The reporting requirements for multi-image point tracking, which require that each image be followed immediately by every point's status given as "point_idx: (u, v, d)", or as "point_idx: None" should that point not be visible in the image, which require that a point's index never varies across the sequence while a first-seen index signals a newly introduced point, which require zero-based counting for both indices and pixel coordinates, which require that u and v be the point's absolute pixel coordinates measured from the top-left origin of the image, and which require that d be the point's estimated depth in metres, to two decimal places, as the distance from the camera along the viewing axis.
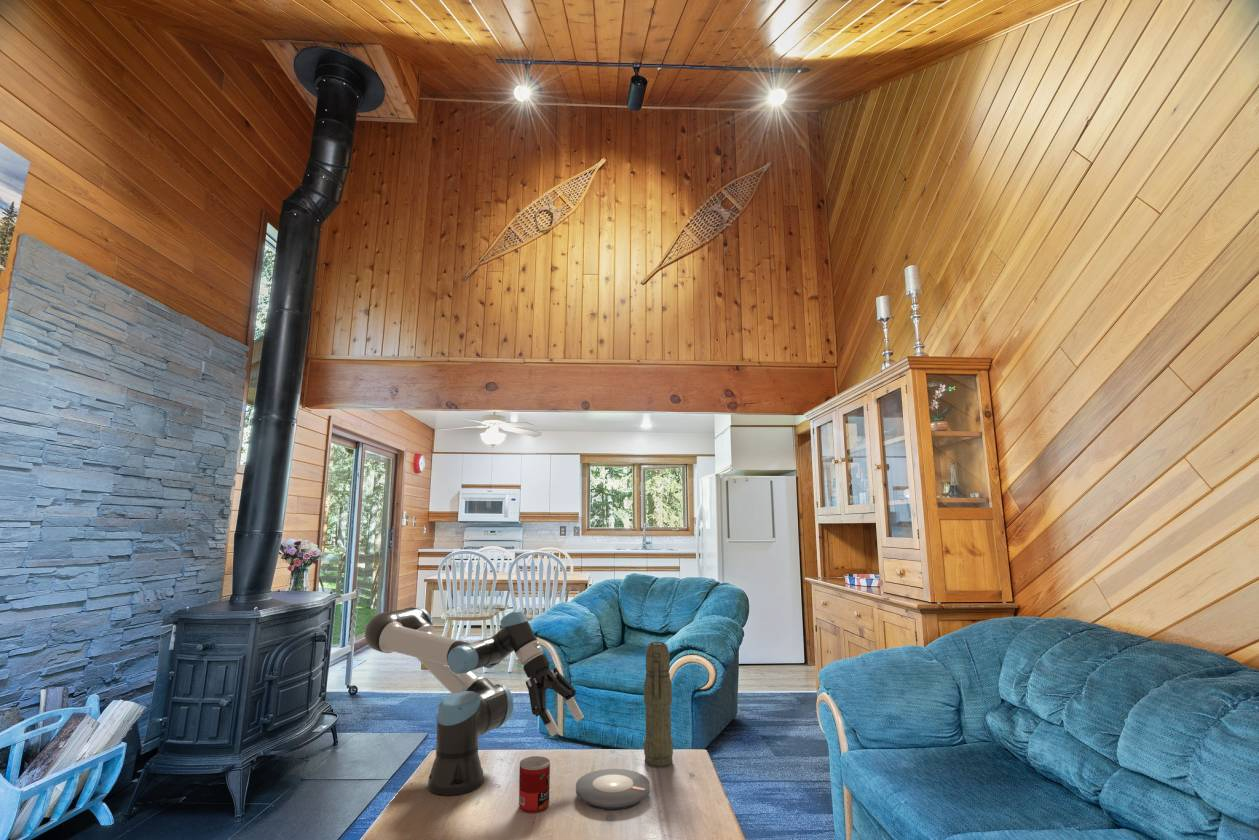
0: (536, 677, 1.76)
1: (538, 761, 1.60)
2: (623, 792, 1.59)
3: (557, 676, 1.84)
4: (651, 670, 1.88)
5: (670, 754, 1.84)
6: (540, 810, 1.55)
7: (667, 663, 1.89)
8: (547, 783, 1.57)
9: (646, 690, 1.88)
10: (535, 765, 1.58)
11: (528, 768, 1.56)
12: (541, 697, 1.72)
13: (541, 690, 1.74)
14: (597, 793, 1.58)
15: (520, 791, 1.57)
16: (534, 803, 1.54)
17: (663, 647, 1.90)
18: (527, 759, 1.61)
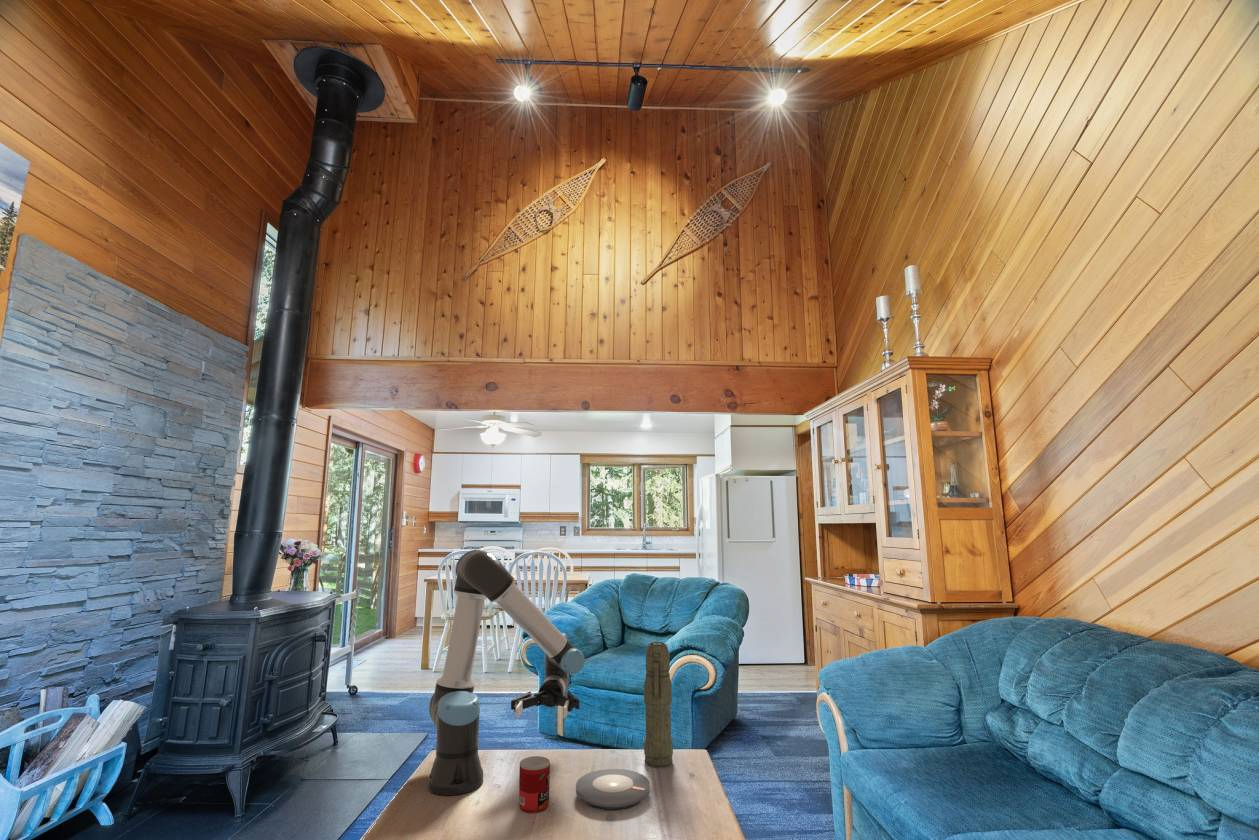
0: None
1: (538, 761, 1.60)
2: (623, 792, 1.59)
3: None
4: (651, 670, 1.88)
5: (670, 754, 1.84)
6: (540, 810, 1.55)
7: (667, 663, 1.89)
8: (547, 783, 1.57)
9: (646, 690, 1.88)
10: (535, 765, 1.58)
11: (528, 768, 1.56)
12: None
13: None
14: (597, 793, 1.58)
15: (520, 791, 1.57)
16: (534, 803, 1.54)
17: (663, 647, 1.90)
18: (527, 759, 1.61)
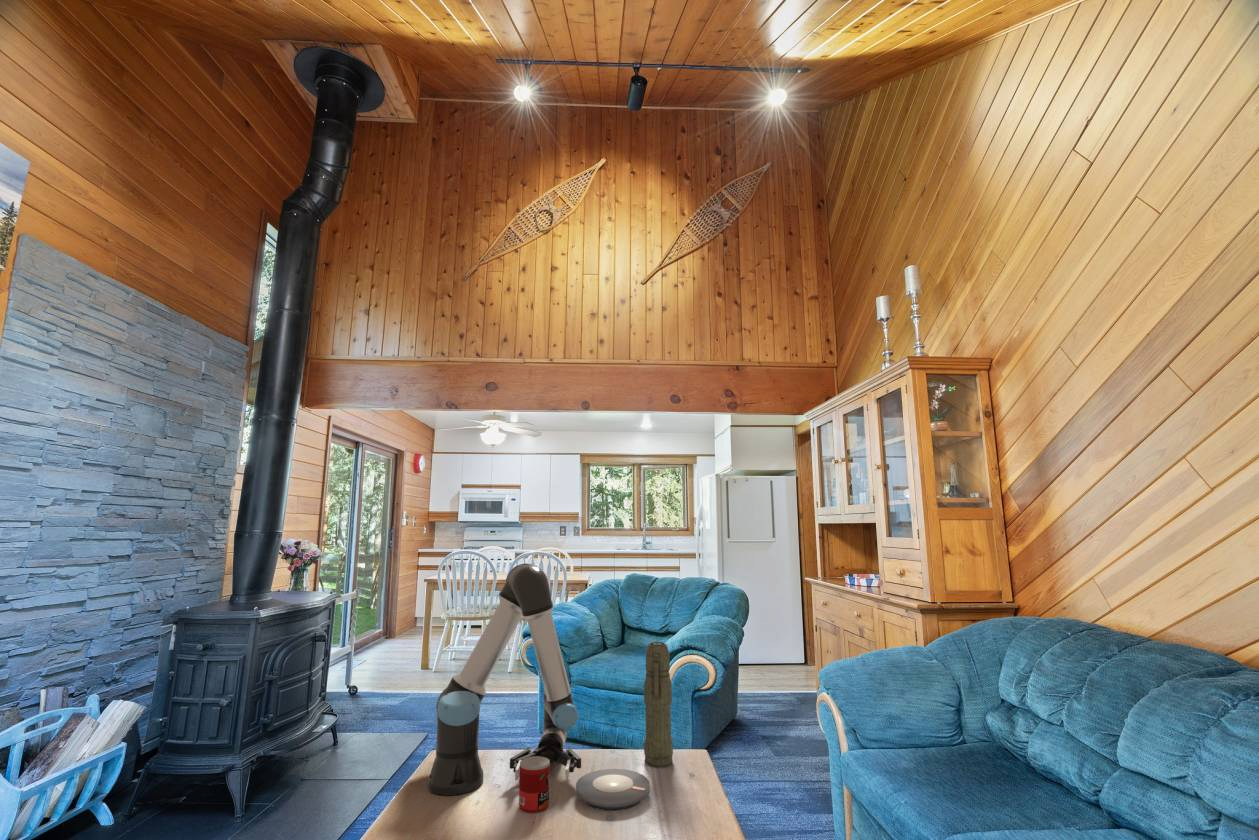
0: None
1: (538, 761, 1.60)
2: (623, 792, 1.59)
3: None
4: (651, 670, 1.88)
5: (670, 754, 1.84)
6: (540, 810, 1.55)
7: (667, 663, 1.89)
8: (547, 783, 1.57)
9: (646, 690, 1.88)
10: (535, 765, 1.58)
11: (528, 768, 1.56)
12: None
13: None
14: (597, 793, 1.58)
15: (520, 791, 1.57)
16: (534, 803, 1.54)
17: (663, 647, 1.90)
18: (527, 759, 1.61)
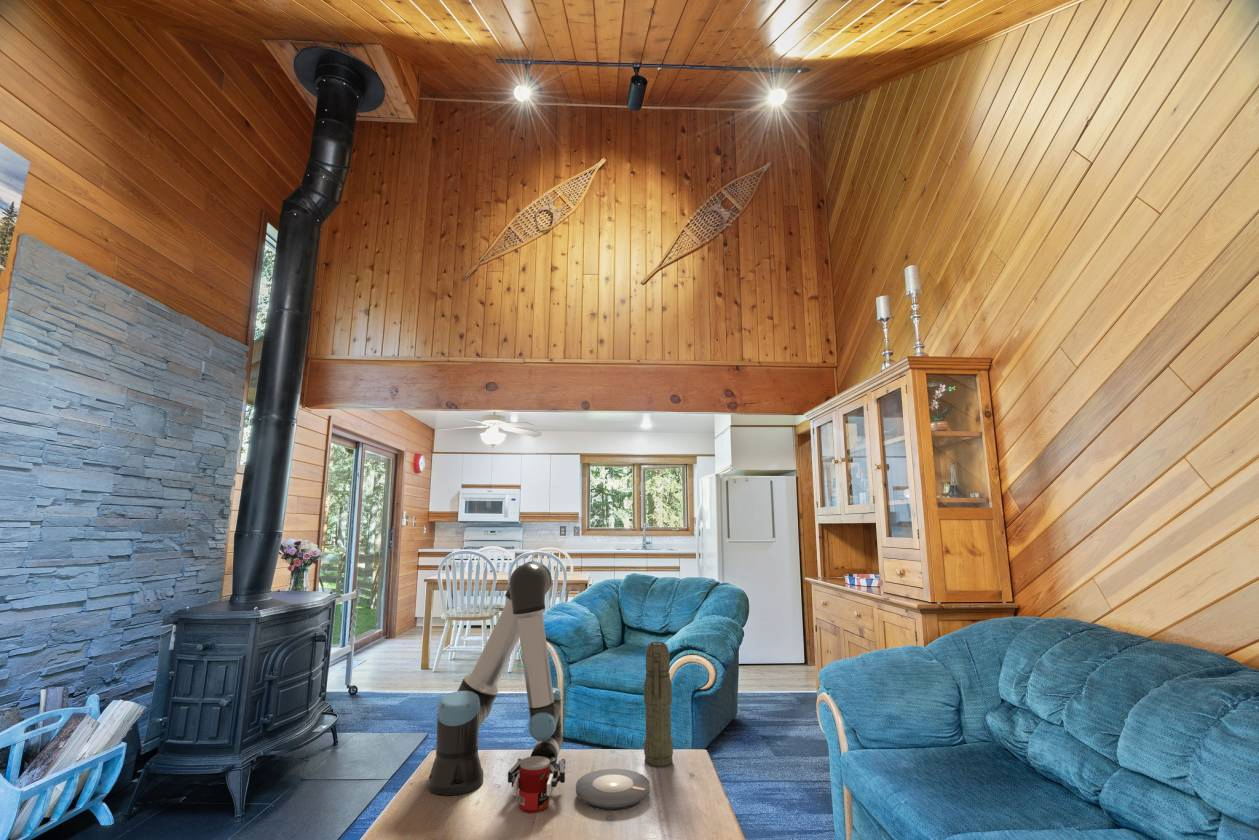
0: None
1: (538, 761, 1.60)
2: (623, 792, 1.59)
3: None
4: (651, 670, 1.88)
5: (670, 754, 1.84)
6: (540, 810, 1.55)
7: (667, 663, 1.89)
8: None
9: (646, 690, 1.88)
10: (535, 765, 1.58)
11: (528, 768, 1.56)
12: None
13: None
14: (597, 793, 1.58)
15: (520, 791, 1.57)
16: (534, 803, 1.54)
17: (663, 647, 1.90)
18: (527, 759, 1.61)
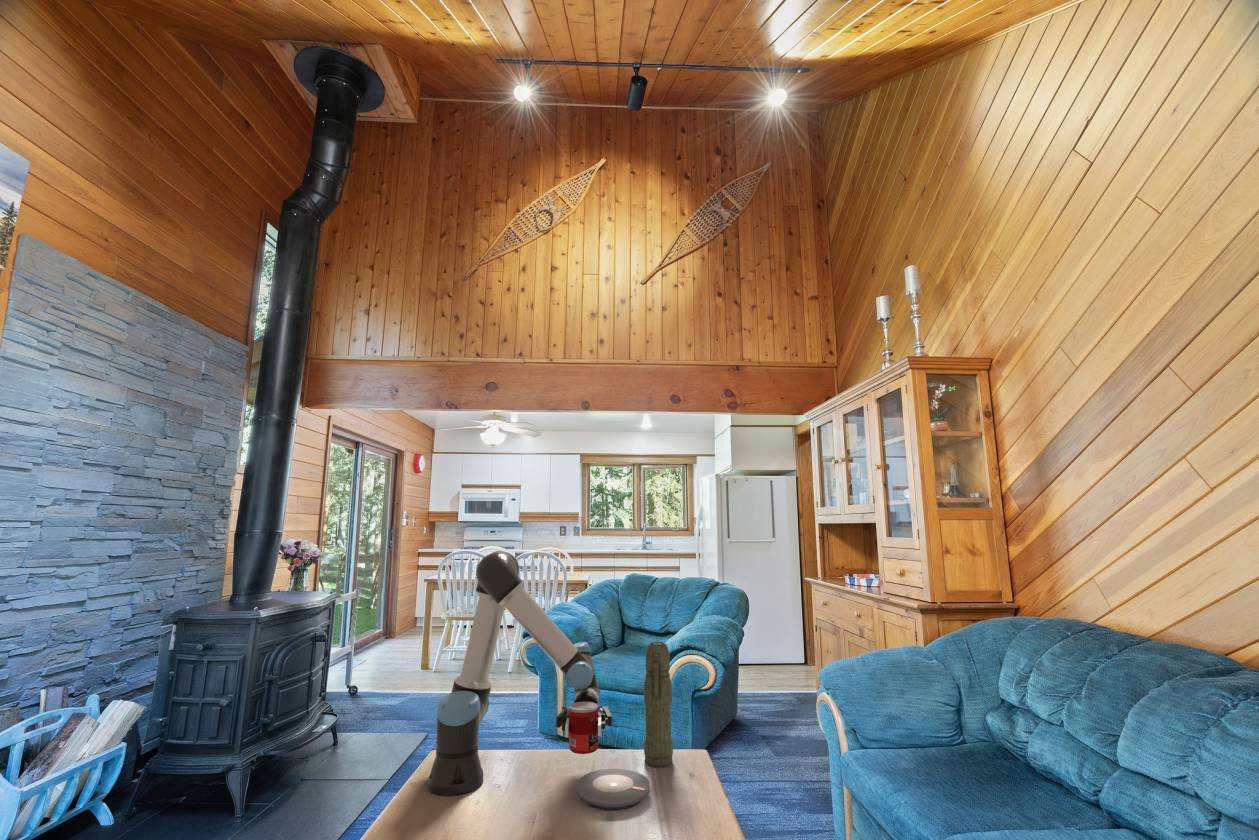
0: None
1: (586, 705, 1.65)
2: (623, 792, 1.59)
3: (566, 716, 1.73)
4: (651, 670, 1.88)
5: (670, 754, 1.84)
6: (591, 751, 1.59)
7: (667, 663, 1.89)
8: (597, 725, 1.62)
9: (646, 690, 1.88)
10: (584, 708, 1.62)
11: (578, 711, 1.60)
12: None
13: None
14: (597, 793, 1.58)
15: (571, 734, 1.61)
16: (586, 744, 1.59)
17: (663, 647, 1.90)
18: (575, 704, 1.66)
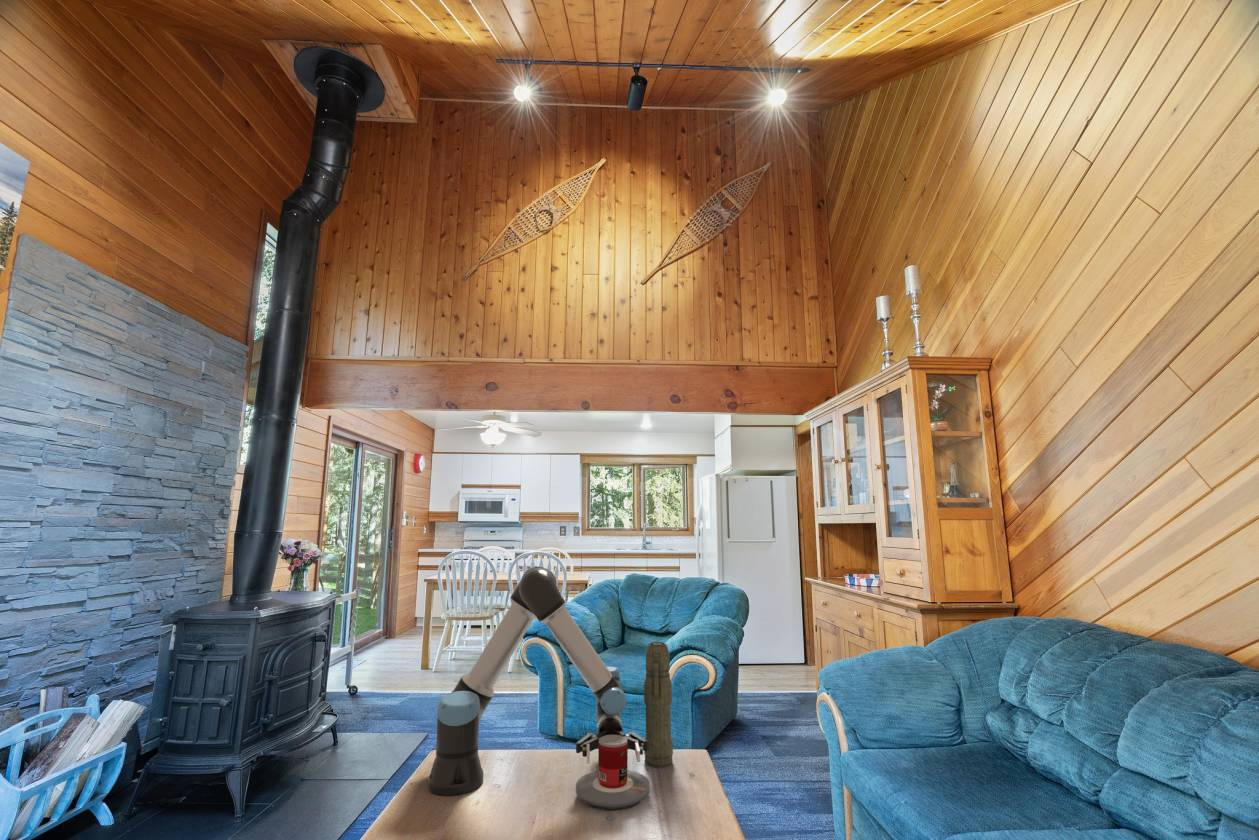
0: None
1: (615, 739, 1.67)
2: (623, 792, 1.59)
3: None
4: (651, 670, 1.88)
5: (670, 754, 1.84)
6: (621, 785, 1.61)
7: (667, 663, 1.89)
8: (626, 759, 1.64)
9: (646, 690, 1.88)
10: (614, 743, 1.64)
11: (609, 746, 1.62)
12: None
13: None
14: (597, 793, 1.58)
15: (601, 768, 1.62)
16: (616, 778, 1.61)
17: (663, 647, 1.90)
18: (604, 737, 1.67)
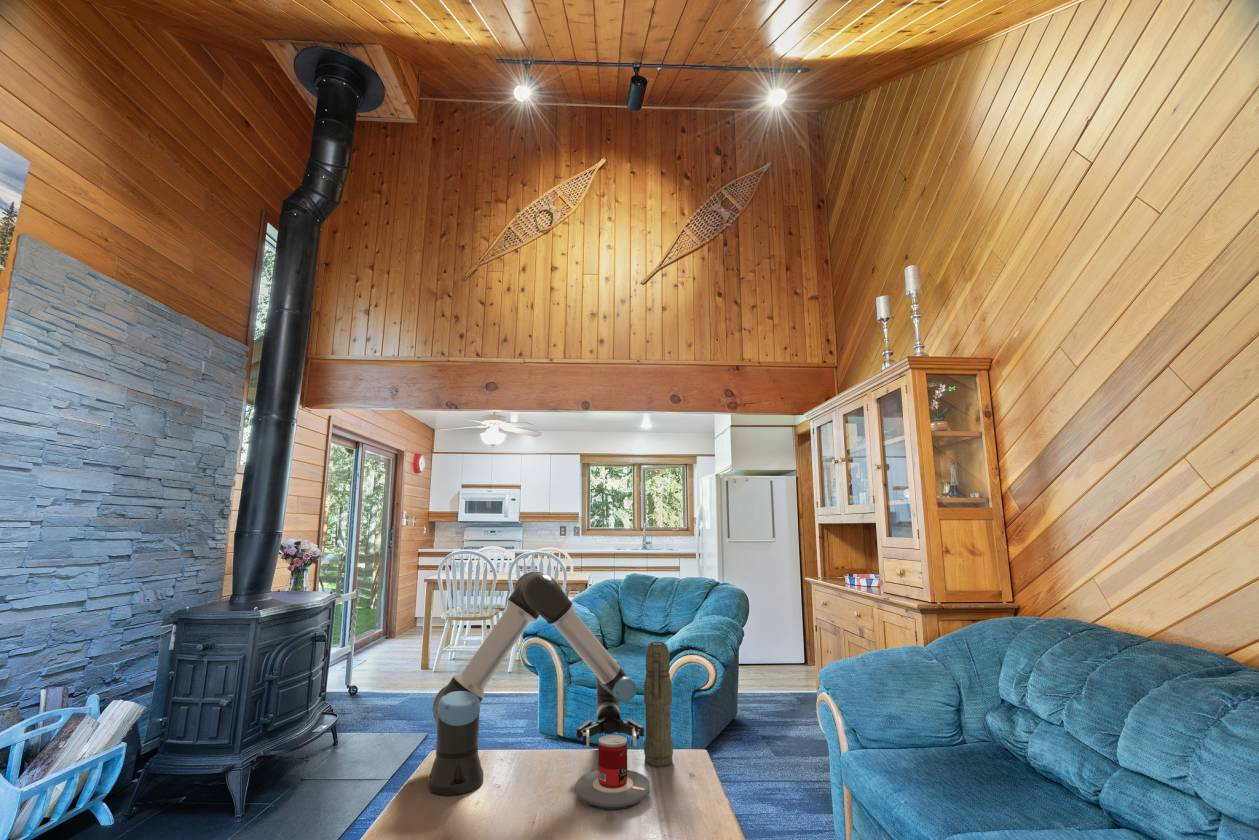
0: None
1: (615, 739, 1.67)
2: (623, 792, 1.59)
3: None
4: (651, 670, 1.88)
5: (670, 754, 1.84)
6: (621, 785, 1.61)
7: (667, 663, 1.89)
8: (626, 759, 1.64)
9: (646, 690, 1.88)
10: (614, 743, 1.64)
11: (609, 746, 1.62)
12: None
13: None
14: (597, 793, 1.58)
15: (600, 768, 1.62)
16: (616, 778, 1.61)
17: (663, 647, 1.90)
18: (604, 738, 1.67)
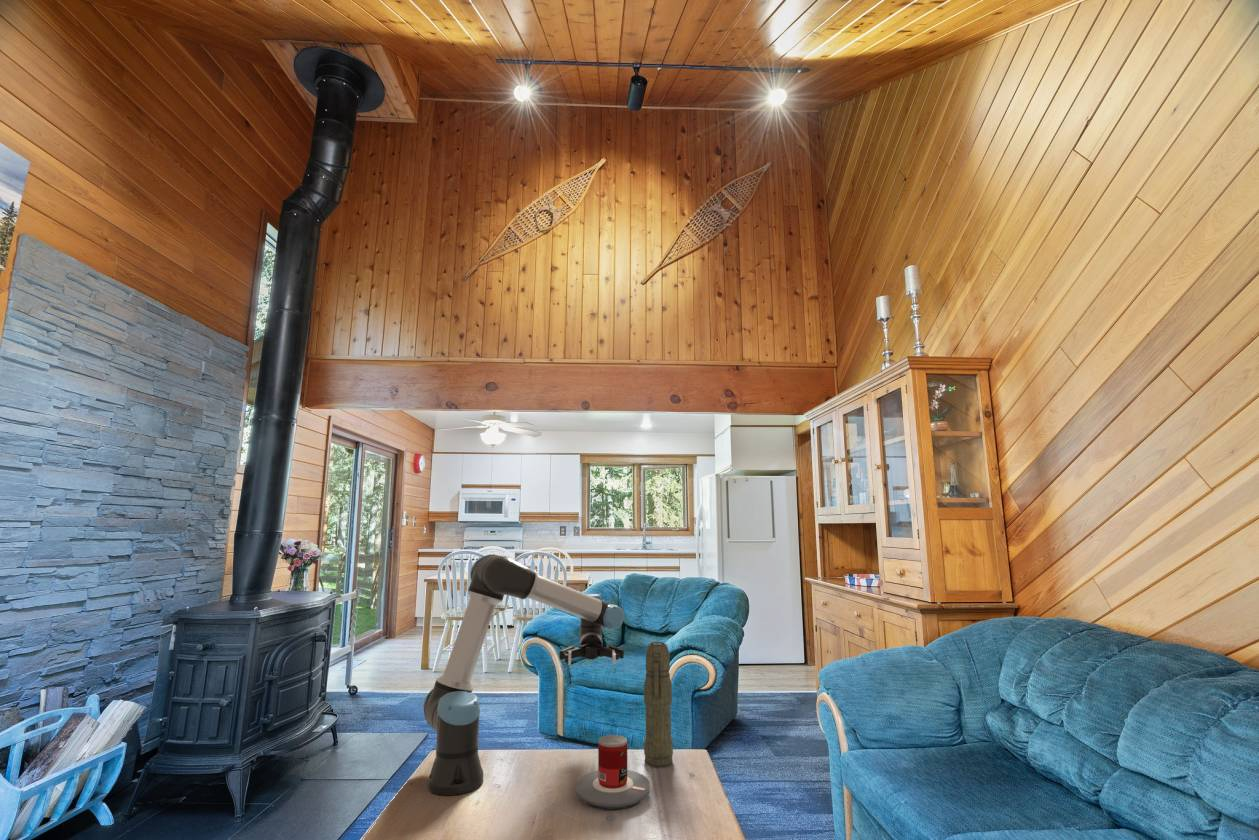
0: None
1: (615, 739, 1.67)
2: (623, 792, 1.59)
3: None
4: (651, 670, 1.88)
5: (670, 754, 1.84)
6: (621, 785, 1.61)
7: (667, 663, 1.89)
8: (626, 759, 1.64)
9: (646, 690, 1.88)
10: (614, 743, 1.64)
11: (609, 746, 1.62)
12: None
13: None
14: (597, 793, 1.58)
15: (600, 768, 1.63)
16: (616, 778, 1.61)
17: (663, 647, 1.90)
18: (604, 738, 1.67)
